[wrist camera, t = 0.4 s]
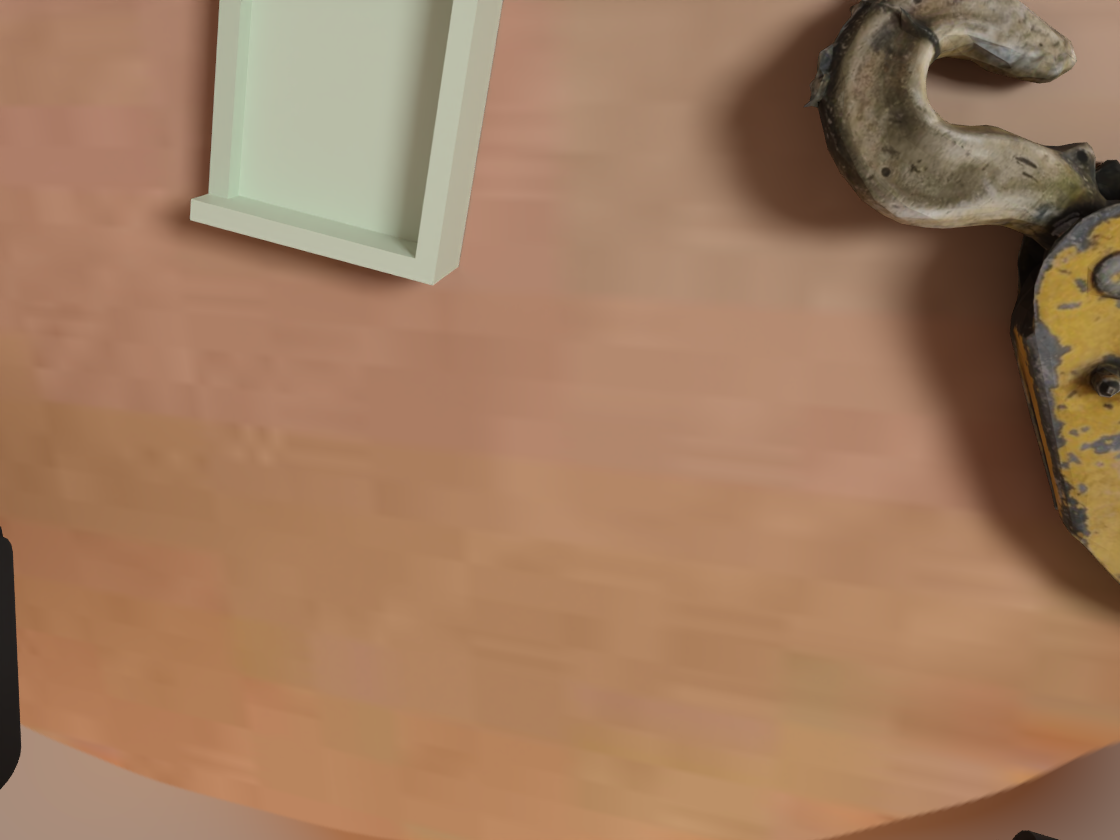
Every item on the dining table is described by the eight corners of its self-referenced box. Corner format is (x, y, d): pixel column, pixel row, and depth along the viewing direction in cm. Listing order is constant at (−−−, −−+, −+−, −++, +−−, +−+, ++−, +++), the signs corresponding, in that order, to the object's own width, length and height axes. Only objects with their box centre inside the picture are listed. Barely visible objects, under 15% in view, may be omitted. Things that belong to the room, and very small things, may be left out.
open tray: (253, -117, 35) (207, -128, 32) (512, -59, 34) (488, -66, 31) (231, 206, 40) (190, 220, 37) (458, 266, 39) (432, 285, 36)
